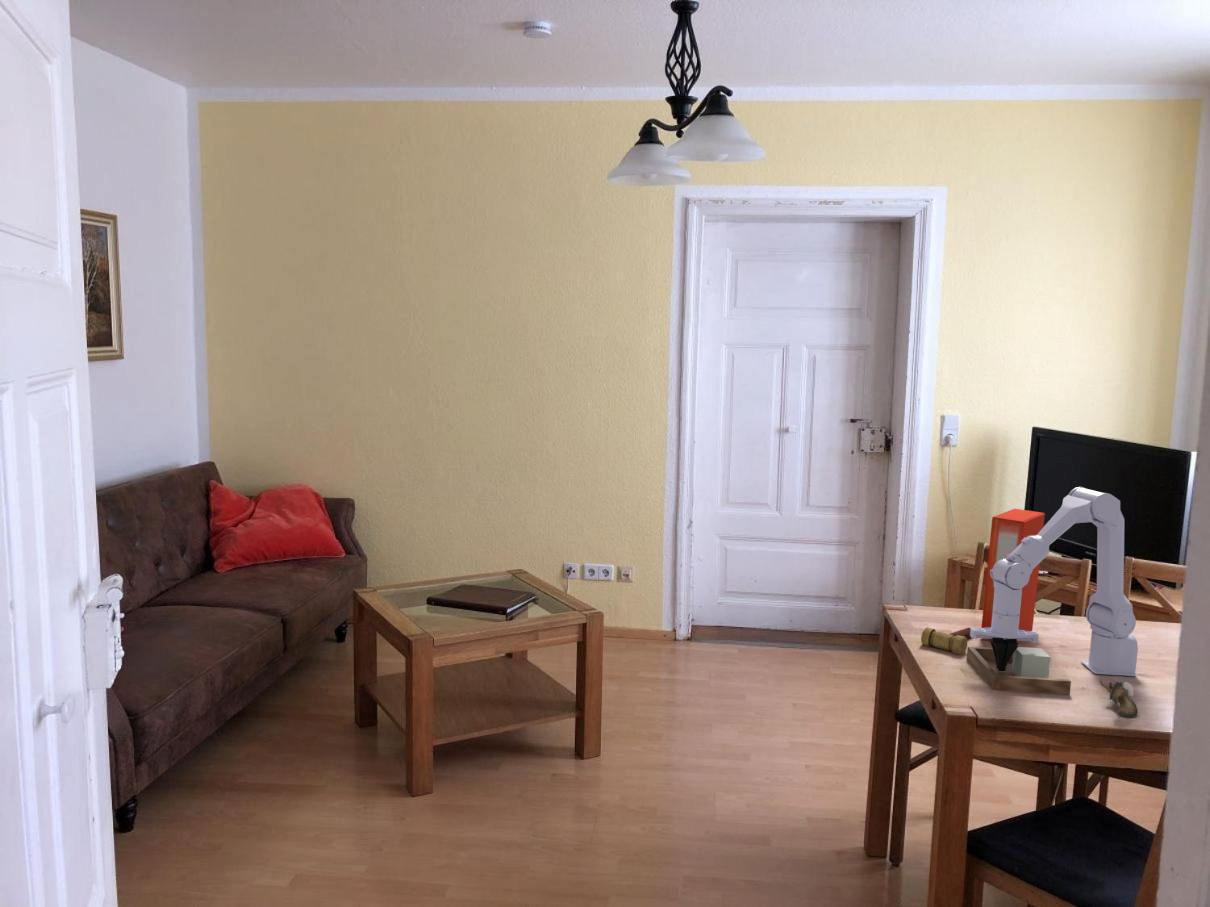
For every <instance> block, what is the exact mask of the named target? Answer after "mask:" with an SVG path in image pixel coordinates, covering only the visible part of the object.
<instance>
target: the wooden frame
mask: <svg viewBox="0 0 1210 907" xmlns="http://www.w3.org/2000/svg"><path fill="white" fill-rule="evenodd" d="M966 660H967V661H968V662H969V663H970V664H971V665H972V666H973V667H974V669H975V670H976V671H977V673H978V674H979V675H980V676H981V677H982V678H983V679H984V681H985V682H986V683H987V684H988V685H989V687H991V689H992V690H994V691H1006V692H1007V691H1009V692H1023V693H1038V694H1039V693H1040V694H1055V695H1056V694H1057V695H1070V694H1071V686H1072V681H1071V679H1069V678H1052V677H1048V678H1039V677H1022V676H1016V675H1004V674H1003V675H1001V674H998V673H997V672H996V670H995V669H993V667H992V666H991V665H990V664H989V663H988V662H993V663H996V660H995V655H994V651H993V648H992V647H985V646H968V645H967V649H966ZM1009 663H1010V664H1012V663H1013V655H1012V656H1011V658H1010V660H1009V662H1008V664H1009Z"/></svg>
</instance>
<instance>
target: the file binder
mask: <svg viewBox="0 0 1210 907" xmlns="http://www.w3.org/2000/svg"><path fill="white" fill-rule="evenodd" d="M1045 516H1046V514H1045V512H1039V511H1033V510H1029V509H1028V510H1027V509H1026V510H1025V509H1021V508H1012V509H1010V510H1007V511H1004V512H1002V513H1000V514H997V515H994V516H992V517H991V528H990V536H989V537H990V538H989V545H988V546H989V547H988V558H987V568H986V579H985V589H984V596H983V597H984V598H983V605H982V606H983V607H982V616H981V617H982V618H981V627H980V628H990V627H991V624H992V613H993V601H994V590H995V587H994V581H993V579H992V577H991V575H990V570H992V569H993V566H994V564H995V563H996V562H998V561H999V560H1003V559H1006V558H1007V556H1008V555H1009V554H1011V553H1012V552H1013V551H1014V550H1015V549H1016V548H1017V547H1018V546H1019V545H1020V544H1021V543H1022V542H1021V541H1022V540H1023V539H1024V538H1027V537H1028V536H1036V535H1037V534H1038V533H1039V532H1040V531H1041V530H1042V528H1043V527H1044V526H1045V525H1044V524H1045ZM1039 571H1040V563H1039V564H1038V565H1037V566H1036V567H1035V568H1034V569H1033V571H1032V573H1031V574H1030V579H1029V582H1028V583H1027V585H1025V586H1024V587H1022V595H1021V606H1020V617H1019V627H1018V630H1024V631H1031V632H1033V627H1034V618H1035V608H1036V601H1037V600H1036V598H1037V591H1038V589H1037V588H1038V581H1039ZM981 639H983V641H987V640H988V641H987V642H990V641H989V639H985V638H981ZM1017 642H1019V641H1018V640H1017Z"/></svg>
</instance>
